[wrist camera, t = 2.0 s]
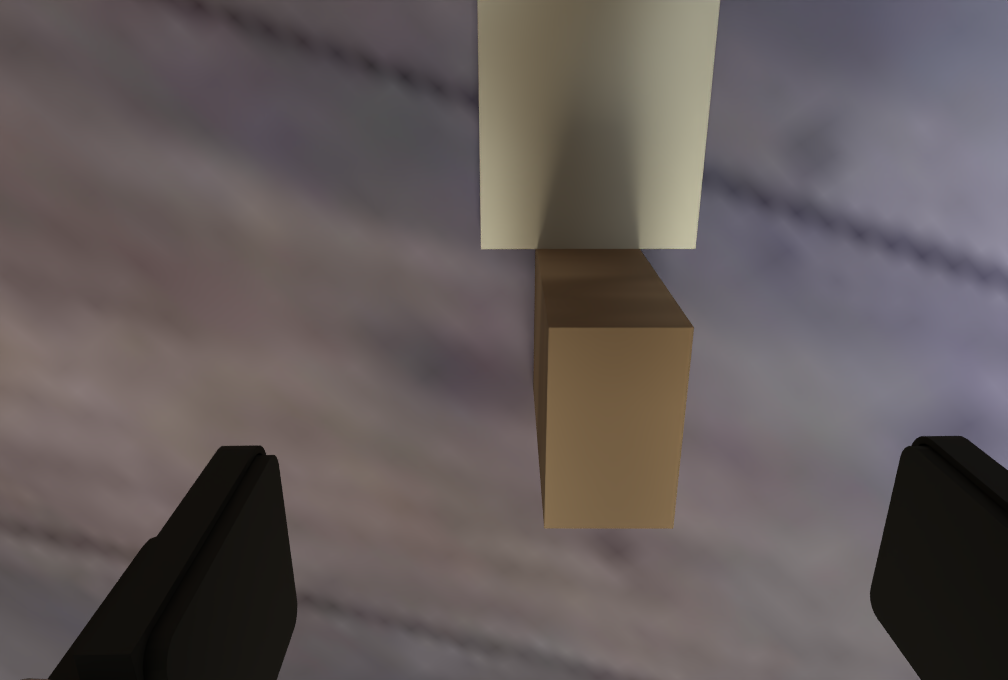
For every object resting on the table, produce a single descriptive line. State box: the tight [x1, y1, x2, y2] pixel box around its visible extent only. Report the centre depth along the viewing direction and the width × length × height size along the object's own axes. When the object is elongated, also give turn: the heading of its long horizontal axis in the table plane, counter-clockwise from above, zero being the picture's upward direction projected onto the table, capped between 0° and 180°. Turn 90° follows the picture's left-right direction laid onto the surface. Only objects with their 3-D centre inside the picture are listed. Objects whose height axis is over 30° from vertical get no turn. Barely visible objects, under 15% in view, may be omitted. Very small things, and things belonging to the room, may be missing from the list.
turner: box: [478, 0, 720, 528], centre depth 13 cm, size 5×16×6 cm, turn 0°
